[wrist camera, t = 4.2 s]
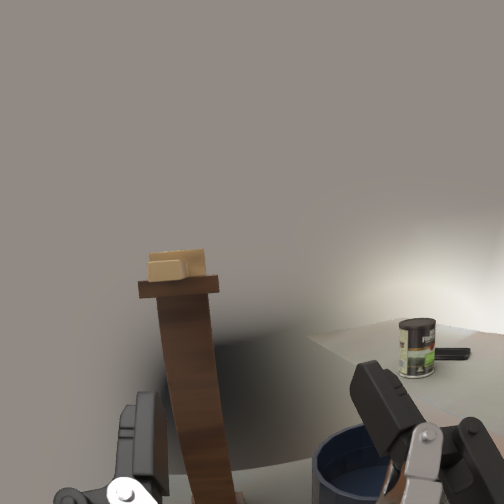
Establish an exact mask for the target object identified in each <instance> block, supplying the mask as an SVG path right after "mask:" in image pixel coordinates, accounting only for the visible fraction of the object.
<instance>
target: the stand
mask: <svg viewBox="0 0 504 504" xmlns="http://www.w3.org/2000/svg"><path fill="white" fill-rule="evenodd" d="M138 289H139V298H155V297H156V300H157V310H158V318H159V327H160V334H161V342H162V349H163V356H164V363H165V369H166V375H167V381H168V387H169V393H170V398H171V404H172V409H173V414H174V419H175V424H176V428H177V433H178V438H179V443H180V447H181V451H182V455H183V460H184V464H185V468H186V472H187V476H188V479H189V483H190V487H191V491H192V494H193V496H192V504H245V503H244V498H243V494H242V492H235V490H234V485H233V479H232V473H231V468H230V462H229V456H228V449H227V443H226V436H225V430H224V423H223V416H222V409H221V402H220V395H219V387H218V379H217V372H216V365H215V364H216V363H215V355H214V346H213V338H212V328H211V320H210V309H209V299H208V293H218V292H219V281H218V275H216V274H212V275H211V274H210V275H206V276H196V277H188V278H185V279H181V280H172V281H159V282H149V280H143V281H138Z"/></svg>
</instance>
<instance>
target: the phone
mask: <svg viewBox="0 0 504 504" xmlns="http://www.w3.org/2000/svg"><path fill="white" fill-rule="evenodd" d="M469 354H470V348H435V354H434V359H447V360H466V359H468V357H469Z"/></svg>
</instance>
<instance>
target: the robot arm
mask: <svg viewBox="0 0 504 504" xmlns="http://www.w3.org/2000/svg"><path fill="white" fill-rule="evenodd" d="M350 396H351V399H352V401H353V403H354V405H355V407H356V409H357V411H358V413H359V415H360V417H361V419H362V421H363V423H364V425H365V427H366V429H367V431H368V433H369V435H370V437H371V439H372V441H373V444H374V446H375V448H376V450H377V452H378V454H379V456H380V458H382V457H384V456H387V455H390V457H391V460H390V463H389V466H388V470H387V473H386V477H385V480H384V483H383V487H382V490H381V493H380V496H379V498H378V500H377V502H376V503H375V504H439V502H440V498H441V492H442V487H443V489H444V492H445V494H446V496H447V498H448V501H449V503H450V504H504V459H503V458H502V456H501V454H500V452H499V450H498V449H497V447H496V445H495V443H494V442H493V440H492V438H491V437H490V435H489V433H488V432H487V430H486V428H485V427H484V425H483V423H482V422H481V421H480V420H479V419H477V418H474V417H467V418H465V419H463V420H462V421H461V422H460V424H459V425H456V426H449V427H438V426H437V425H436V424H434V423H430V422H426V420H425V419H424V418H423V416H422V415H421V413H420V411H419V410H418V409H417V407H416V405H415V404H414V402H413V401H412V399H411V397H410V396H409V394H407V391H406V389H405V388H404V387H403V385H402V383H401V382H400V380H399V379H398V377H397V376H396V375H395V374H394V373H392V372H391V371H390V370H388V369H385V370H383V369H382V368H381V366H380V365H379V363H378V362H377V361H376V360H372V361H368V362H364V363H360V364H358V365H357V367H356V370H355V373H354V376H353V379H352V381H351V384H350ZM115 468H116V469H115V475H114V478H113V479H112V481H111V482H110V483H109V484H108V485H107V486H105V487H103V488H100V489H95V490H90V491H85V492H80V491H78V490H77V489H74V488H63V489H61V490H59V491H58V492H57V493H56V495H55V497H54V500H53V504H162V496H170V495H169V477H168V449H167V419H166V414H165V410H164V408H163V405H162V403H161V400H160V397H159V394H158V392H157V391H139V392H138V393H137V399H136V405H126V407H125V409H124V410H123V412H122V413H121V415H120V422H119V431H118V442H117V453H116V467H115ZM438 478H439V480H438Z"/></svg>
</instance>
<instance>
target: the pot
mask: <svg viewBox="0 0 504 504" xmlns="http://www.w3.org/2000/svg"><path fill="white" fill-rule="evenodd" d="M390 460H391V457H390V455H387V456H384V457H382V458H380V456H379V454H378V452H377V450H376V448H375V446H374V444H373V441H372V439H371V437H370V435H369V433H368V431H367V429H366V427H365V425H364V423H362V424H359V425H355V426H352V427H348V428H345V429H343V430H341V431H339V432H337V433H335V434H333V435H331V436H330V437H328V438H327V439H326V440H325V441H323V442H322V443H321V444H320V445H319V446H318V448H317V449H316V451H315V453H314V454H313V456H312V504H375V503H376V502H377V500H378V498H379V496H380V493H381V490H382V487H383V483H384V480H385V477H386V473H387V470H388V466H389V463H390ZM438 480H439V478H438ZM443 491H444V489H443V487H442V492H441V497H442V494H443ZM440 500H441V498H440Z"/></svg>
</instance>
